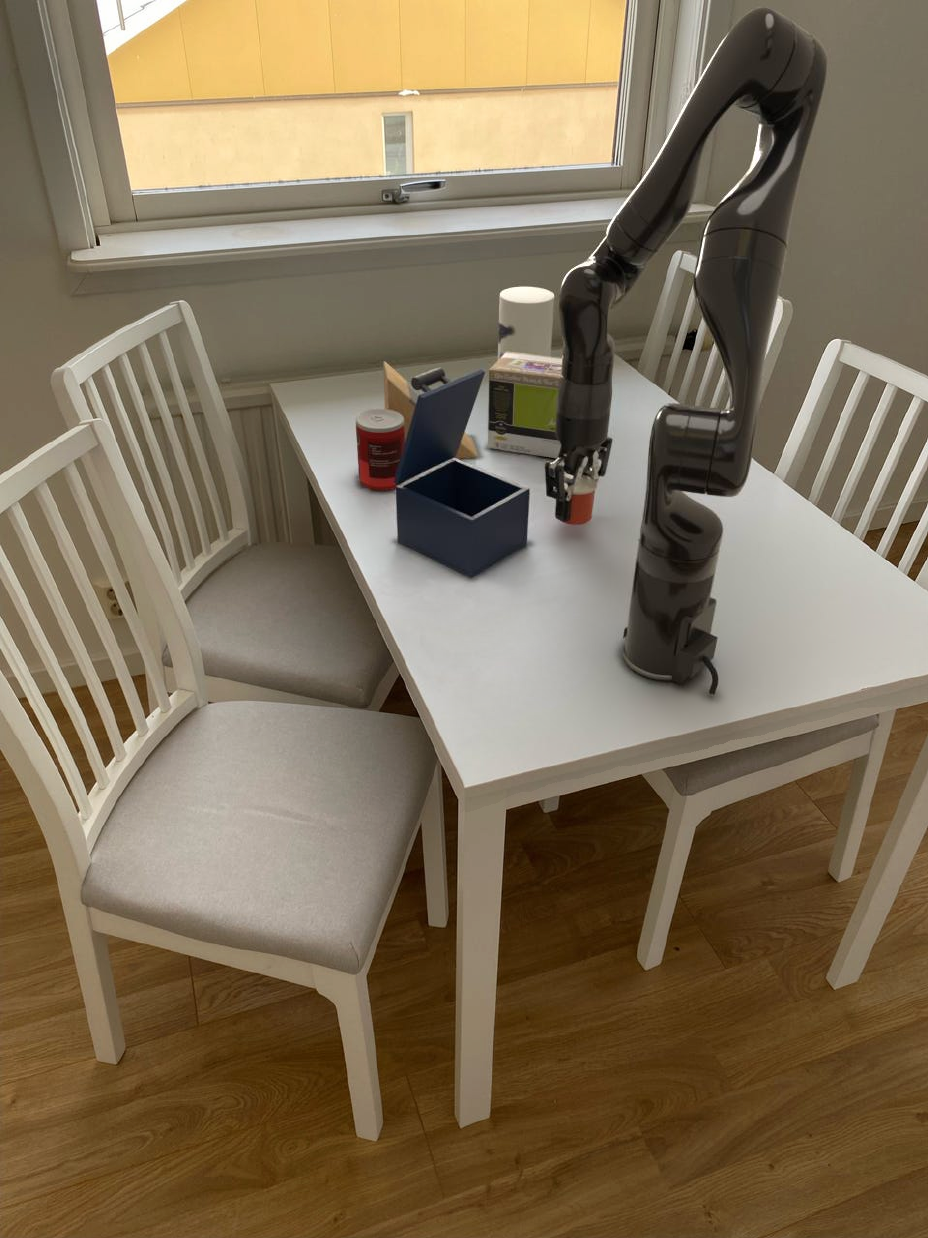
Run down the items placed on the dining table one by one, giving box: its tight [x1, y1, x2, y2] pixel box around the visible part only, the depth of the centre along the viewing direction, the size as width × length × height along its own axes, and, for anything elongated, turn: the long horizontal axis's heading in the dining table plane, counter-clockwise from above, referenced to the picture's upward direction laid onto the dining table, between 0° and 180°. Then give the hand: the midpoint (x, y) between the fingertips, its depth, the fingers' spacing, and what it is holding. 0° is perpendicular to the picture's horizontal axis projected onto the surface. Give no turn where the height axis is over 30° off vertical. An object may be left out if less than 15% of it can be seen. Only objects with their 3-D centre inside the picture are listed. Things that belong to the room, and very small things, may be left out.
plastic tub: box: [559, 474, 598, 526], centre depth 144 cm, size 6×6×6 cm
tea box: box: [487, 351, 562, 460], centre depth 167 cm, size 15×10×15 cm, turn 70°
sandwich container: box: [382, 360, 479, 460], centre depth 165 cm, size 9×15×15 cm, turn 99°
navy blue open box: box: [395, 458, 531, 579], centre depth 141 cm, size 15×13×9 cm
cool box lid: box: [394, 367, 486, 485], centre depth 137 cm, size 16×13×5 cm
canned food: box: [355, 408, 405, 492], centre depth 156 cm, size 8×8×11 cm
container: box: [497, 286, 555, 361], centre depth 182 cm, size 10×10×20 cm
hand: (574, 512), depth 145 cm, fingers closed on plastic tub, 5 cm apart
